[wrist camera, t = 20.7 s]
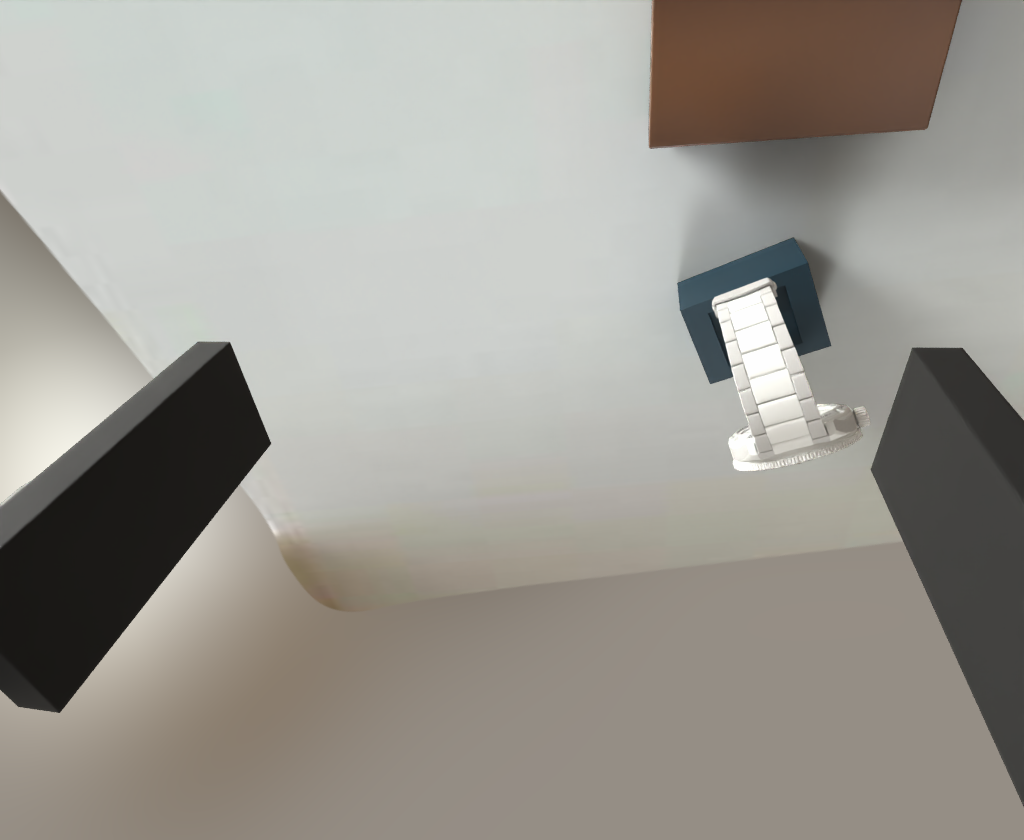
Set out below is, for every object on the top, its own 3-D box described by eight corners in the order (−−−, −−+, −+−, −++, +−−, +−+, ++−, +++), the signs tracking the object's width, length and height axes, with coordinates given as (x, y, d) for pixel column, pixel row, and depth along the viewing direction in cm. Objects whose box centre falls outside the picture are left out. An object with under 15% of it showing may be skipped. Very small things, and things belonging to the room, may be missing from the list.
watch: (716, 381, 33) (742, 526, 24) (664, 251, 30) (673, 368, 21) (827, 346, 31) (898, 493, 22) (785, 201, 27) (851, 308, 18)
